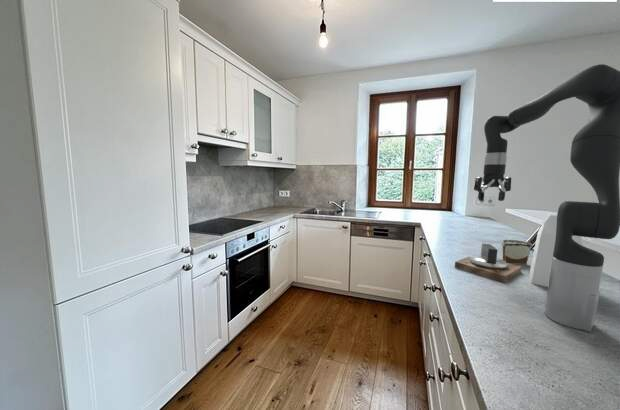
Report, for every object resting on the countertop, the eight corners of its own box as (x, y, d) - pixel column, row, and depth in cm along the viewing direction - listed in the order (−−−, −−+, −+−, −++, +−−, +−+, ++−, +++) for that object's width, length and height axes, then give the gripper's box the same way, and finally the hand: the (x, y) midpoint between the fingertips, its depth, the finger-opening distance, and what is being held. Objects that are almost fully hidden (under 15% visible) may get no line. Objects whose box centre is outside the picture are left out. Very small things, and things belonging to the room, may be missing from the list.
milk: (571, 282, 93) (581, 215, 89) (577, 293, 84) (589, 219, 81) (529, 274, 100) (537, 212, 97) (531, 283, 91) (540, 215, 88)
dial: (466, 256, 112) (467, 241, 111) (500, 260, 108) (502, 244, 107) (473, 266, 100) (475, 248, 99) (512, 271, 95) (514, 252, 95)
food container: (520, 260, 117) (522, 239, 116) (530, 264, 111) (533, 243, 110) (492, 258, 118) (495, 238, 117) (501, 263, 112) (504, 242, 111)
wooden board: (520, 272, 102) (521, 265, 101) (504, 282, 92) (505, 275, 91) (472, 259, 117) (473, 254, 116) (454, 267, 106) (455, 261, 106)
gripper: (504, 164, 109) (500, 199, 111) (472, 163, 109) (469, 199, 111) (518, 163, 101) (514, 201, 104) (484, 163, 102) (480, 201, 104)
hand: (490, 200), depth 107 cm, fingers open, 8 cm apart
